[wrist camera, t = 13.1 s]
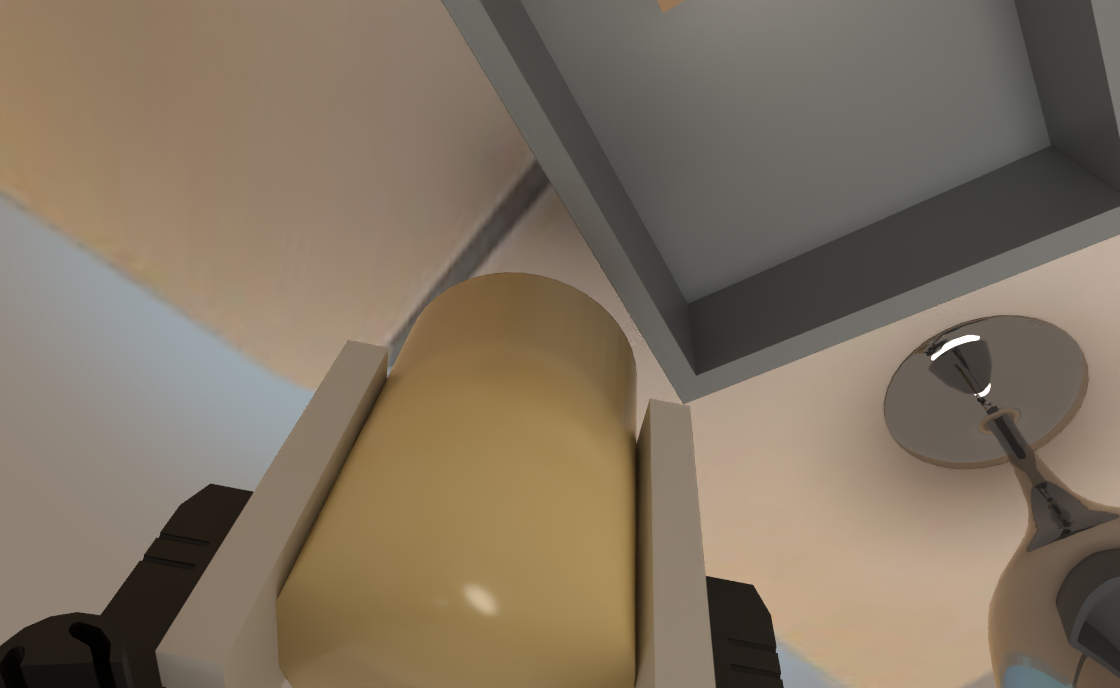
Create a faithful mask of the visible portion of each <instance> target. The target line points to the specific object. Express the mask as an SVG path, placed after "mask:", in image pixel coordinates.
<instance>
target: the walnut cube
mask: <svg viewBox="0 0 1120 688" xmlns="http://www.w3.org/2000/svg"><path fill="white" fill-rule="evenodd" d="M683 1H685V0H657V2H658V4H659V6H660V8H661V10H662V12H663V13H664V12H666V11H668V10H669V9H671V8H673V7H674V6H676V5H678V4H680V3H681V2H683Z"/></svg>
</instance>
